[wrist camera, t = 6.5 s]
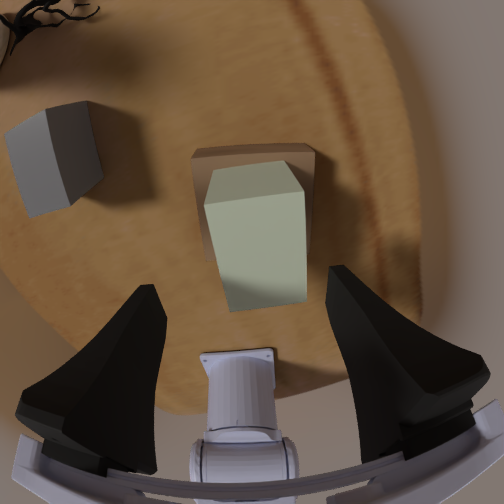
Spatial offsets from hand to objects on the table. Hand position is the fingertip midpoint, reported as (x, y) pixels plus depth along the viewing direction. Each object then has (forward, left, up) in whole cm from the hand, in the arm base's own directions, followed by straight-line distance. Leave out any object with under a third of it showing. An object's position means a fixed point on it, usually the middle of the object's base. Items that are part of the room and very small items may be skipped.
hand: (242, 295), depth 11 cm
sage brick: (0, -1, -7) cm, 7 cm away
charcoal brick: (+7, +11, -10) cm, 16 cm away
